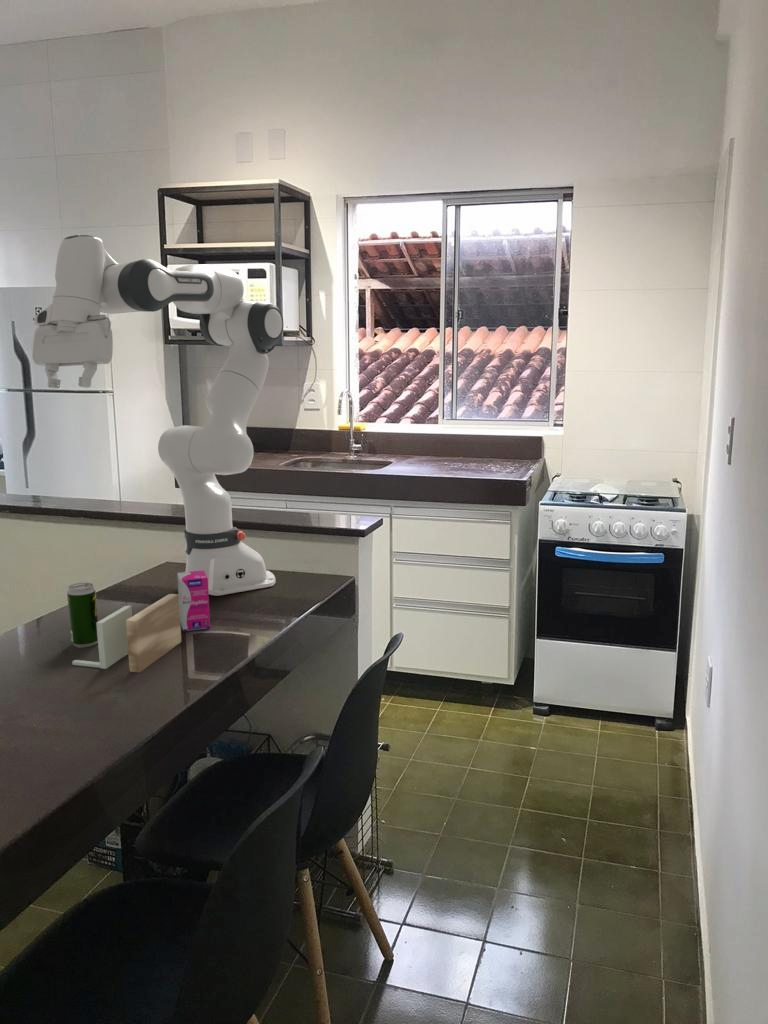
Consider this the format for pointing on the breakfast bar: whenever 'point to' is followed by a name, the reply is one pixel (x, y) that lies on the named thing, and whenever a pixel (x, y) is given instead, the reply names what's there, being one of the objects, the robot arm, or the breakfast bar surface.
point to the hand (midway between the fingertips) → (68, 387)
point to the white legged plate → (110, 639)
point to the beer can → (83, 614)
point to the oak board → (153, 632)
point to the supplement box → (193, 600)
